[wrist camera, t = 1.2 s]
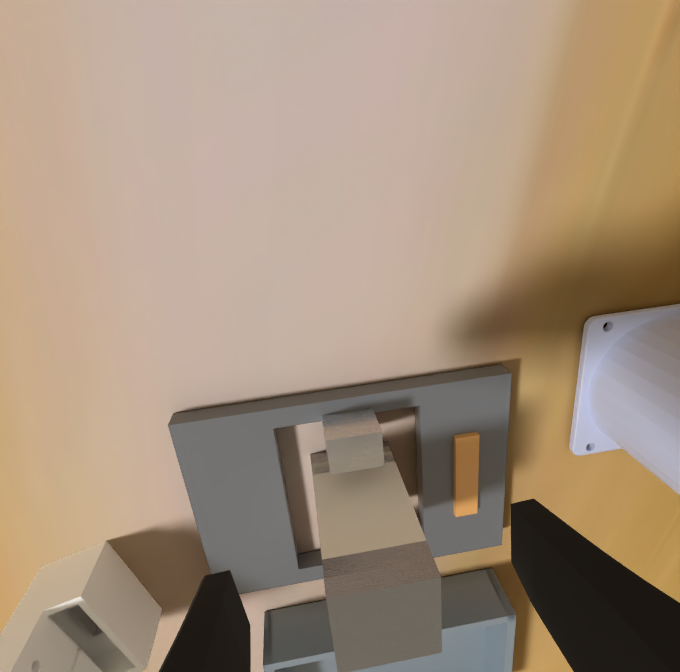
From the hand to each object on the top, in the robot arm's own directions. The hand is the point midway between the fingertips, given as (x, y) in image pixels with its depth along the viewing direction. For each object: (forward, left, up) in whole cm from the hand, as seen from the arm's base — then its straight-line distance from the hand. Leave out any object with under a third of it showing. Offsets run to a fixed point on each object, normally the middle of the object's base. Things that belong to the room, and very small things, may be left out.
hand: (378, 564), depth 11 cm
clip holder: (-1, +6, -10) cm, 12 cm away
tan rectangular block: (-1, +6, -10) cm, 12 cm away
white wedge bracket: (+13, +11, -11) cm, 20 cm away
